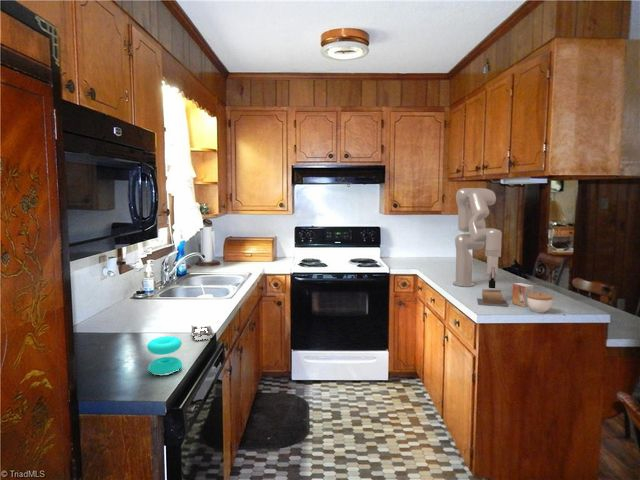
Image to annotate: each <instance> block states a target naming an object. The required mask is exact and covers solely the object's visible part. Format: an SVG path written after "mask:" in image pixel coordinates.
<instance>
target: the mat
mask: <svg viewBox="0 0 640 480" xmlns="http://www.w3.org/2000/svg"><path fill="white" fill-rule="evenodd" d="M477 305H479V306H488V307H489V306H490V307H491V306H493V307H502V308H503V307H504V308H505V307H507V308H508V307H509V304H508V302H507V300H505V299H503V301H502V304H496V303H483V299H482V298H480V297H479V298H477Z"/></svg>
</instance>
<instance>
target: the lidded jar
mask: <svg viewBox="0 0 640 480" xmlns="http://www.w3.org/2000/svg"><path fill="white" fill-rule="evenodd" d="M527 303H528V306H529V307H528V308H529V309H530V310H531V312H533V313H537V314H544V313H547V312H548V311H549V310H550V309H551V307H552V304H553V295H551V294H549V293H542V292H541V291H538V292H533V293H529V294H527Z"/></svg>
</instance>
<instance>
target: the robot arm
mask: <svg viewBox="0 0 640 480" xmlns="http://www.w3.org/2000/svg"><path fill="white" fill-rule="evenodd" d="M496 196H497V195H496V194H495V192H494V191H493V190H491V189H488V188H483V187H477V188H476V187H465V188H464V187H463V188H459V189H458V190H457V191H456V194H455V201H456V206H457V211H458V212H457V216H458V217H457V228H458V230H459V231H460V232H462V234H457V236H455V239H454V245H455V253H456V255H455V281H453V282H452V285H453V286H457V287H474V286H475V283H474V282H473V280H472V279H473V255H472V253H471V252H470V251H469V250H482V249H484V248H485V253H484V255H485V257H486V272H485V273H486V275H487V276H488V277H489V280H488V288H489V289H496V276H497V275H498V269H499V258H501V257H502V237H503V236H502V231H501V230H500V229H496V228H491V227H490V228H487V227H486V221H485V219H486V218H487V217H488V216H489V215H490V210H489V207H488V206H492V205H494V204H495V203H496V200H497V197H496ZM465 232H466V233H465Z"/></svg>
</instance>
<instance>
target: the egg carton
mask: <svg viewBox="0 0 640 480" xmlns="http://www.w3.org/2000/svg"><path fill="white" fill-rule="evenodd" d="M200 328H201V329H202V328H207V331H208V333H206V331H205V330H204V331H200V334H197V333H194V332H195V329H198V327H197V326H194V325H191V334H192V333H193V335H194V337H195V336H198V337H201V336H202V335H207V336H210V335H213V332H214V330H213V328H212V326H211V325H208V326H204V327H203V326H200ZM199 335H200V336H199Z"/></svg>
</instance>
